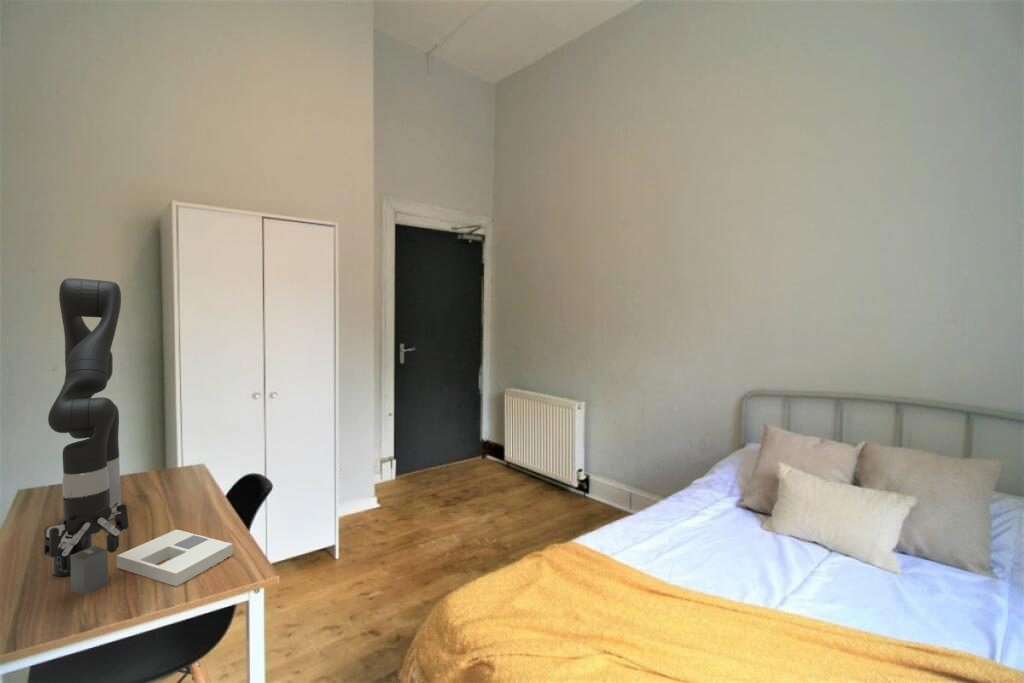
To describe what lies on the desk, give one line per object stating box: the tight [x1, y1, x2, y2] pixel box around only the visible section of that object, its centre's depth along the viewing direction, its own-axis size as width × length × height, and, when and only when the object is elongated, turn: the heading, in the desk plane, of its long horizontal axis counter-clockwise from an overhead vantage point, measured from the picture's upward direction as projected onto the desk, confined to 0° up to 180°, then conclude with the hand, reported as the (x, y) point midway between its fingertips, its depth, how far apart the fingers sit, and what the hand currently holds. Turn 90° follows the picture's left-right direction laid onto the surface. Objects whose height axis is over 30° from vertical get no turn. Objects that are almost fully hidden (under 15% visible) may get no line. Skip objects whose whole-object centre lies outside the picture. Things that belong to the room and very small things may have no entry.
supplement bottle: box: [52, 518, 93, 577], centre depth 108 cm, size 7×7×12 cm
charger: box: [70, 545, 109, 596], centre depth 102 cm, size 4×4×8 cm
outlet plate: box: [116, 529, 234, 587], centre depth 113 cm, size 20×14×3 cm
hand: (89, 560), depth 101 cm, fingers open, 8 cm apart
